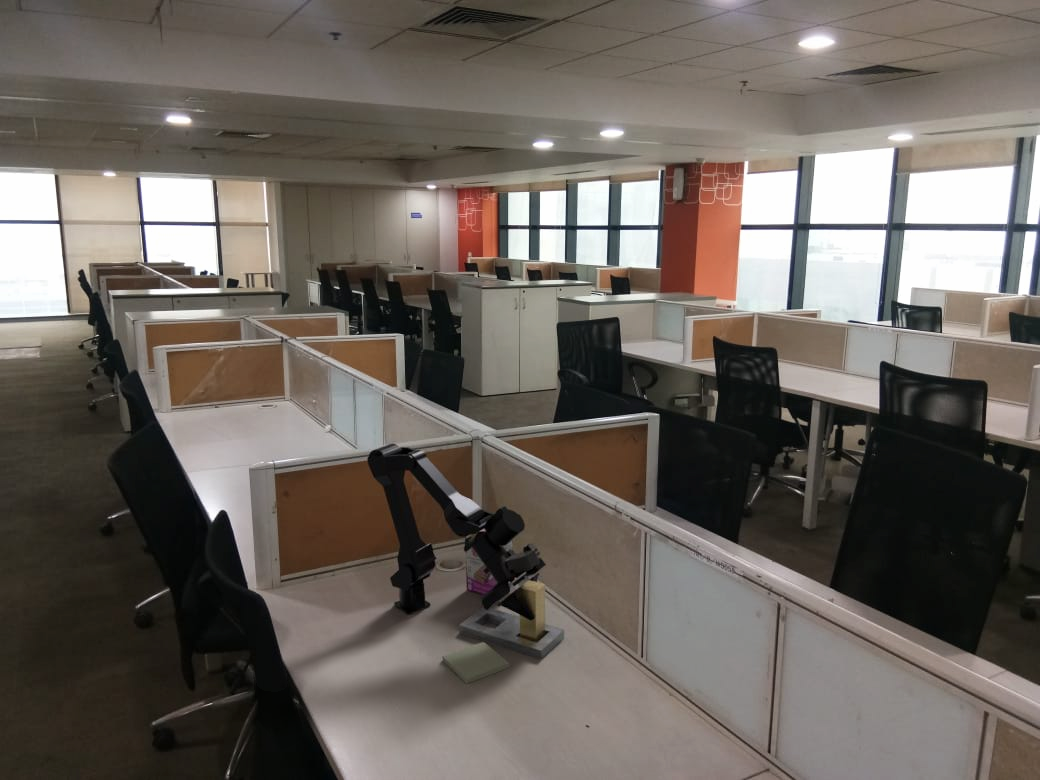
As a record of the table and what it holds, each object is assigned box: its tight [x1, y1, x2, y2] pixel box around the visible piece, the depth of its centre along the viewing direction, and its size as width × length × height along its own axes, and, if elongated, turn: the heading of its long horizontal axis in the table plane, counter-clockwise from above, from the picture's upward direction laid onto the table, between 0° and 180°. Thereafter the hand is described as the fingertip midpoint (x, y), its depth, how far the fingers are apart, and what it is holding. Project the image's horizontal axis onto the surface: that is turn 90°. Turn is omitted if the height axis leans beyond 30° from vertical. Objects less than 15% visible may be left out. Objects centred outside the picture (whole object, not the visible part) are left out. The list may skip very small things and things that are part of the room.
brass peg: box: [519, 580, 546, 643], centre depth 166 cm, size 4×4×13 cm
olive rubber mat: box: [442, 641, 510, 684], centre depth 159 cm, size 10×10×1 cm
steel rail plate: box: [458, 606, 565, 660], centre depth 170 cm, size 21×10×2 cm, turn 59°
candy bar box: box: [464, 529, 514, 596], centre depth 189 cm, size 11×5×16 cm, turn 58°
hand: (538, 615), depth 165 cm, fingers closed on brass peg, 4 cm apart
